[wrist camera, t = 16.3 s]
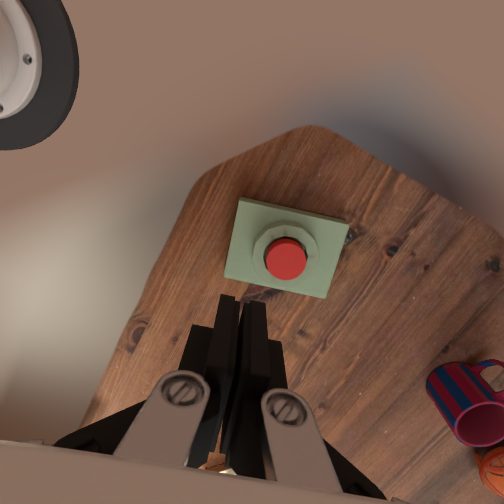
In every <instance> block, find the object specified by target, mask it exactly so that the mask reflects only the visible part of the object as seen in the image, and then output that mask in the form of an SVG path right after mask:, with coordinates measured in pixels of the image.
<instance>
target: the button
mask: <svg viewBox="0 0 504 504" xmlns="http://www.w3.org/2000/svg"><path fill="white" fill-rule="evenodd" d="M266 263H267V268H268V270H269V272H270V273H271V274H272V275H273V276H274V277H276V278H278V279H281V280H291V279H294V278H296V277H298V276H299V275H300V274H301V273H302V272H303V271H304V269H305V266H306V256H305V253H304V251H303V248H302V246H301V245H300V244H299V243H298V242H296V241H295V240H293V239H288V238H283V239H279V240H277V241H275V242H273V243H272V244H271V245H270V247H269V248H268V250H267V254H266Z"/></svg>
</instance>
